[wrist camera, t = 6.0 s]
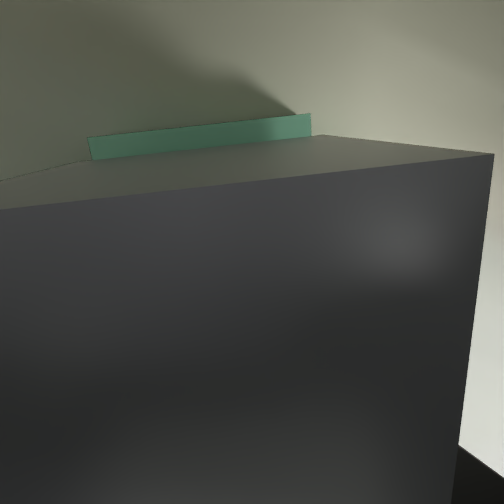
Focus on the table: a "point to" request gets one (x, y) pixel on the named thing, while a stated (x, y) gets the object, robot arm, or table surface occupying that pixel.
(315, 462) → the block
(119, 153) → the green peg board
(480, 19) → the table surface
